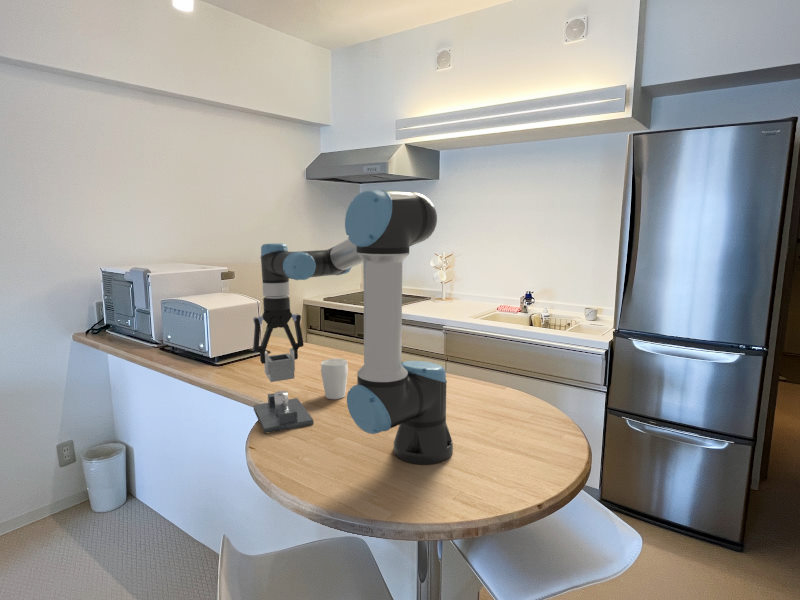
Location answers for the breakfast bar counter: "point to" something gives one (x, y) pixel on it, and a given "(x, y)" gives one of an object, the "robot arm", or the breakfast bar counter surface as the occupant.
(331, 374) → the cup
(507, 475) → the breakfast bar counter surface
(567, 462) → the breakfast bar counter surface
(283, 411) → the shaft base
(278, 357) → the grey hollow block
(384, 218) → the robot arm
